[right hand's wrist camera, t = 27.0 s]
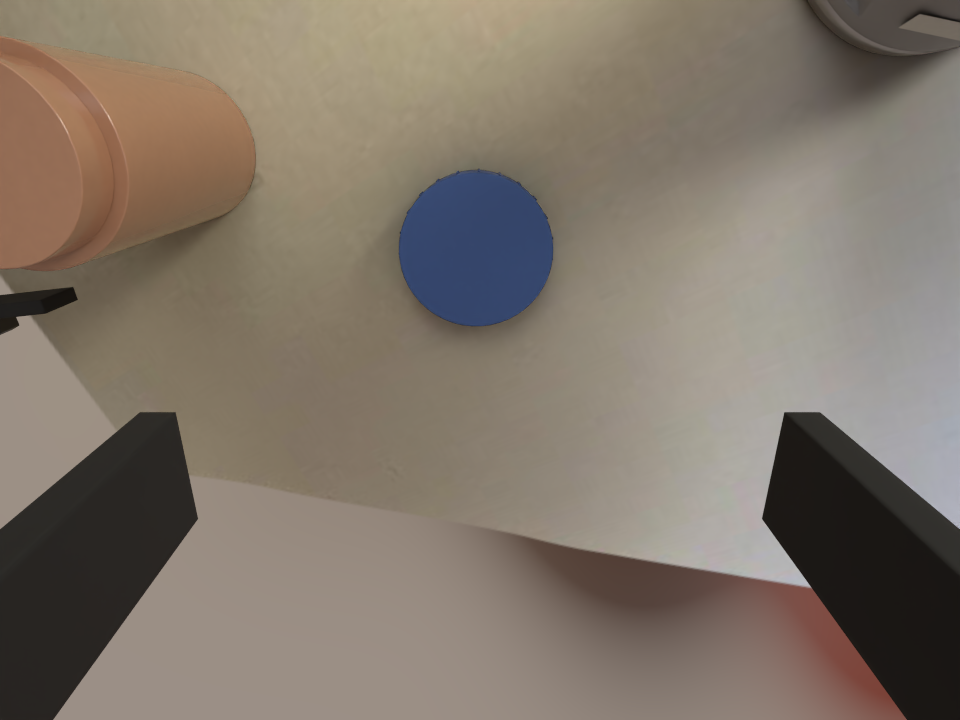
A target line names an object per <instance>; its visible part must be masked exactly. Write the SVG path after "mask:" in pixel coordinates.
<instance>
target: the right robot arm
mask: <svg viewBox="0 0 960 720" xmlns="http://www.w3.org/2000/svg"><path fill="white" fill-rule="evenodd" d="M807 1H808V3H809V5H810V6H811V8H812V9H813V11H814V12H815V13H816V15H817V16H818V18H819V19H820V20H821V21H822V22H823V23H824V24H825V25H826V26H827V27H828V28H829V29H830V30H831V31H832V32H833V33H835V34H836V35H837V36H838V37H840V38H841V39H843V40H844V41H846V42H847V43H849V44H852V45H854V46H856V47H858V48H860V49H863V50H866V51H869V52H872V53H877V54H881V55H890V56H912V55H921V54H927V53H933V52H939V51H944V50H949V49H953V48H957V47H960V0H807ZM197 519H198V517H197V512H196V507H195V503H194V498H193V493H192V489H191V484H190V479H189V474H188V469H187V465H186V460H185V455H184V450H183V446H182V441H181V436H180V431H179V427H178V422H177V417H176V412H140V413H139V414H138V415H136V416H135V417H134V418H133V419H132V420H130V421H129V422H128V423H127V424H126V425H124V426H123V427H122V428H121V429H120V430H118V431H117V432H116V433H115V434H114V435H112V436H111V437H110V438H109V439H108V440H106V441H105V442H104V443H103V444H102V445H101V446H99V447H98V448H97V449H96V450H95V451H93V452H92V453H91V454H90V455H89V456H87V457H86V458H85V459H84V460H83V461H81V462H80V463H79V464H78V465H77V466H75V467H74V468H73V469H72V470H71V471H69V472H68V473H67V474H66V475H65V476H63V477H62V478H61V479H60V480H59V481H57V482H56V483H55V484H54V485H53V486H52V487H50V488H49V489H48V490H47V491H46V492H44V493H43V494H42V495H41V496H40V497H38V498H37V499H36V500H35V501H34V502H32V503H31V504H30V505H29V506H28V507H26V508H25V509H24V510H23V511H22V512H20V513H19V514H18V515H17V516H16V517H15V518H13V519H12V520H11V521H10V522H8V523H7V524H6V525H5V526H4V527H3V528H1V529H0V720H53V719H54V718H55V716H56V715H57V713H58V712H59V711H60V709H61V708H62V707H63V705H64V704H65V702H66V701H67V700H68V698H69V697H70V695H71V694H72V693H73V691H74V690H75V689H76V687H77V686H78V684H79V683H80V682H81V680H82V679H83V677H84V676H85V675H86V673H87V672H88V670H89V669H90V668H91V666H92V665H93V664H94V662H95V661H96V659H97V658H98V657H99V655H100V654H101V652H102V651H103V650H104V648H105V647H106V646H107V644H108V643H109V641H110V640H111V639H112V637H113V636H114V634H115V633H116V632H117V630H118V629H119V628H120V626H121V625H122V623H123V622H124V621H125V619H126V618H127V616H128V615H129V614H130V612H131V611H132V609H133V608H134V607H135V605H136V604H137V603H138V601H139V600H140V598H141V597H142V596H143V594H144V593H145V591H146V590H147V589H148V587H149V586H150V585H151V583H152V582H153V580H154V579H155V578H156V576H157V575H158V573H159V572H160V571H161V569H162V568H163V567H164V565H165V564H166V562H167V561H168V560H169V558H170V557H171V555H172V554H173V553H174V551H175V550H176V549H177V547H178V546H179V544H180V543H181V542H182V540H183V539H184V537H185V536H186V535H187V533H188V532H189V531H190V529H191V528H192V526H193V525H194V524H195V522H196V521H197ZM762 519H763V521H764V522H765V524H766V525H767V526H768V528H769V529H770V531H771V532H772V533H773V535H774V536H775V537H776V539H777V540H778V542H779V543H780V544H781V546H782V547H783V549H784V550H785V551H786V553H787V554H788V555H789V557H790V558H791V560H792V561H793V562H794V564H795V565H796V567H797V568H798V569H799V571H800V572H801V573H802V575H803V576H804V578H805V579H806V580H807V582H808V583H809V585H810V586H811V587H812V589H813V590H814V592H815V593H816V594H817V596H818V597H819V598H820V600H821V601H822V603H823V604H824V605H825V607H826V608H827V609H828V611H829V612H830V614H831V615H832V616H833V618H834V619H835V621H836V622H837V623H838V625H839V626H840V627H841V629H842V630H843V632H844V633H845V634H846V636H847V637H848V639H849V640H850V641H851V643H852V644H853V646H854V647H855V648H856V650H857V651H858V652H859V654H860V655H861V657H862V658H863V659H864V661H865V662H866V664H867V665H868V666H869V668H870V669H871V670H872V672H873V673H874V675H875V676H876V677H877V679H878V680H879V682H880V683H881V684H882V686H883V687H884V689H885V690H886V691H887V693H888V694H889V695H890V697H891V698H892V700H893V701H894V702H895V704H896V705H897V707H898V708H899V709H900V711H901V712H902V713H903V715H904V716H905V718H906V719H907V720H960V529H959V528H957V527H956V526H955V525H954V524H953V523H952V522H950V521H949V520H948V519H947V518H946V517H944V516H943V515H942V514H941V513H940V512H938V511H937V510H936V509H935V508H934V507H932V506H931V505H930V504H929V503H928V502H926V501H925V500H924V499H923V498H922V497H920V496H919V495H918V494H917V493H916V492H914V491H913V490H912V489H911V488H910V487H909V486H907V485H906V484H905V483H904V482H903V481H901V480H900V479H899V478H898V477H897V476H895V475H894V474H893V473H892V472H891V471H889V470H888V469H887V468H886V467H885V466H883V465H882V464H881V463H880V462H879V461H877V460H876V459H875V458H874V457H873V456H871V455H870V454H869V453H868V452H867V451H865V450H864V449H863V448H862V447H861V446H860V445H858V444H857V443H856V442H855V441H854V440H852V439H851V438H850V437H849V436H848V435H846V434H845V433H844V432H843V431H842V430H840V429H839V428H838V427H837V426H836V425H834V424H833V423H832V422H831V421H830V420H828V419H827V418H826V417H825V416H824V415H822V414H821V413H820V412H784V417H783V422H782V427H781V431H780V436H779V441H778V446H777V450H776V455H775V460H774V465H773V469H772V474H771V479H770V484H769V488H768V493H767V498H766V503H765V507H764V512H763V517H762Z"/></svg>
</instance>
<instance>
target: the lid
mask: <svg viewBox="0 0 960 720" xmlns="http://www.w3.org/2000/svg"><path fill="white" fill-rule="evenodd" d="M419 196H420V197H419V198H418V199H417V200H416V202H415V203H414V204H413V206H412V207H411V208H410V209H409V211H408V212H407V216H406V218H405V221H404V224H403V226H402V230H401V232H400V234H401V235H400V241H399V258H400V264H401V269H402V272H403V275H404V278H405V280H406V282H407V284H408V286H409V288H410V289H411V291H412V293H413V294H414V295H415V297H416V298H417V299H418V300H419V301H420V302H421V303H422V304H423V305H424V306H425V307H426V308H427V309H428V310H430V311H431V312H432V313H434V314H435V315H437V316H439V317H441V318H443V319H445V320H447V321H450V322H452V323H456V324H460V325H467V326H486V325H492V324H496V323H500V322H503V321H505V320H508V319H510V318H512V317H513V316H515V315H517V314H519V313H520V312H521V311H523V310H524V309H525V308H526V307H528V306H529V305H530V304H531V303H532V302H533V301H534V299H535V298H536V297H537V296H538V295H539V293H540V291H541V290H542V288H543V287H544V285H545V283H546V280H547V278H548V275H549V272H550V269H551V265H552V260H553V241H552V239H553V237H552V235H551V230H550V226H549V224H548V221H547V219H548V218H547V216H546V215H545V214H544V213H543V211H542V209H541V207H540V206H539V205H538V203H537V202H536V200H537V199H536V198H535V197H534V196H533V197H532V196H531V194H530V193H529V192H528V191H527V190H526V189H525V188H523V187H522V186H521V184H520V183H519V182H515V181H514V180H512V179H510V178H508V177H506V176H504V175H501V173H500V172H499V174H498V173H495V172H491V171H484V170H480V169H478V170H468V171H461V172H459V171H457V172H456V173H454V174H451V175H449V176H446V177H444V178H442V179H438V180H437V181H436V182H435V183H434V184H433V185H431V186H430V187H429V188H428V189H426V190H425V192H422V193H421V194H420V195H419Z"/></svg>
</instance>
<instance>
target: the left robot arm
mask: <svg viewBox="0 0 960 720" xmlns="http://www.w3.org/2000/svg"><path fill="white" fill-rule="evenodd" d="M76 300H78V299H77V296H76V294H75V291H74V288H73V287H70V288H61V289H52V290H43V291H34V292H25V293H16V294H7V295H0V335H1V334H3V333H5V332H8V331H10V330H12V329H14V328H16V327H17V326H19V323H18V321H17V319H16V317H18V316H28V315H37V314H46V313H48V312H50V311H53V310H55V309H57V308H60V307H62V306H64V305H67V304H69V303H71V302H74V301H76Z"/></svg>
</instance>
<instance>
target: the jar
mask: <svg viewBox="0 0 960 720" xmlns="http://www.w3.org/2000/svg"><path fill="white" fill-rule="evenodd" d="M255 161H256V157H255V147H254V141H253V137H252V134H251V131H250V128H249V126H248V124H247V122H246V119H245V118H244V116H243V114H242V113H241V111H240V109H239V108H238V107H237V105H236V104H235V103H234V101H233V100H232V99H231V98H230V97H229V96H228V95H227V94H226V93H225V92H224V91H222V90H221V89H220V88H219V87H218V86H216V85H215V84H213V83H212V82H210V81H209V80H207V79H205V78H203V77H201V76H198V75H195V74H193V73H190V72H185V71H180V70H175V69H170V68H165V67H160V66H154V65H149V64H144V63H139V62H134V61H128V60H123V59H118V58H113V57H107V56H102V55H97V54H92V53H87V52H81V51H76V50H71V49H66V48H60V47H55V46H50V45H45V44H40V43H34V42H29V41H24V40H19V39H13V38H8V37H3V36H0V269H15V268H22V269H28V270H36V271H54V270H62V269H67V268H72V267H75V266H78V265H81V264H83V263H86V262H89V261H92V260H95V259H98V258H101V257H104V256H107V255H110V254H113V253H116V252H119V251H121V250H124V249H127V248H130V247H133V246H136V245H139V244H142V243H145V242H148V241H151V240H154V239H157V238H159V237H162V236H165V235H168V234H171V233H174V232H177V231H180V230H183V229H186V228H189V227H192V226H195V225H197V224H200V223H203V222H206V221H209V220H212V219H215V218H218V217H220V216H223V215H224V214H226V213H228V212H230V211H231V210H232V209H233V208H235V207H236V206H237V205H238V204H239V203H240V202H241V201H242V199H243V198H244V197H245V195H246V194H247V192H248V190H249V188H250V186H251V183H252V180H253V177H254V171H255Z"/></svg>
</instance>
